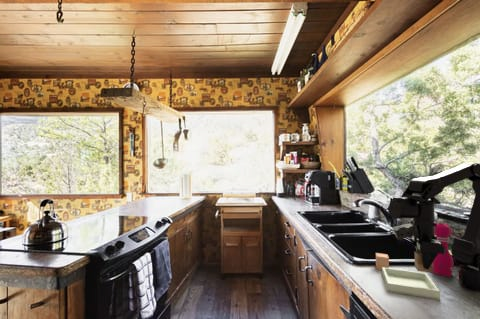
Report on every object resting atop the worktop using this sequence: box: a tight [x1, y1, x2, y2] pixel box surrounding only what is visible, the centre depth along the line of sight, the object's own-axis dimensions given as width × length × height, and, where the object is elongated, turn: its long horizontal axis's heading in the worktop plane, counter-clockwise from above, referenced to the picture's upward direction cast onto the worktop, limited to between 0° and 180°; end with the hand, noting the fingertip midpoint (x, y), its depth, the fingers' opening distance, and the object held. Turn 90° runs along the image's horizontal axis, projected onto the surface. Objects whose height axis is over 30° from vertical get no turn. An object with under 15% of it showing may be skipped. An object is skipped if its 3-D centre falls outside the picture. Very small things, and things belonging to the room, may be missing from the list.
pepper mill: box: [433, 218, 455, 277], centre depth 95 cm, size 7×7×20 cm
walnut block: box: [414, 250, 434, 274], centre depth 81 cm, size 4×4×5 cm
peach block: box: [375, 252, 390, 271], centre depth 98 cm, size 4×4×5 cm
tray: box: [381, 267, 441, 301], centre depth 84 cm, size 14×14×3 cm
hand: (424, 266), depth 81 cm, fingers closed on walnut block, 4 cm apart
